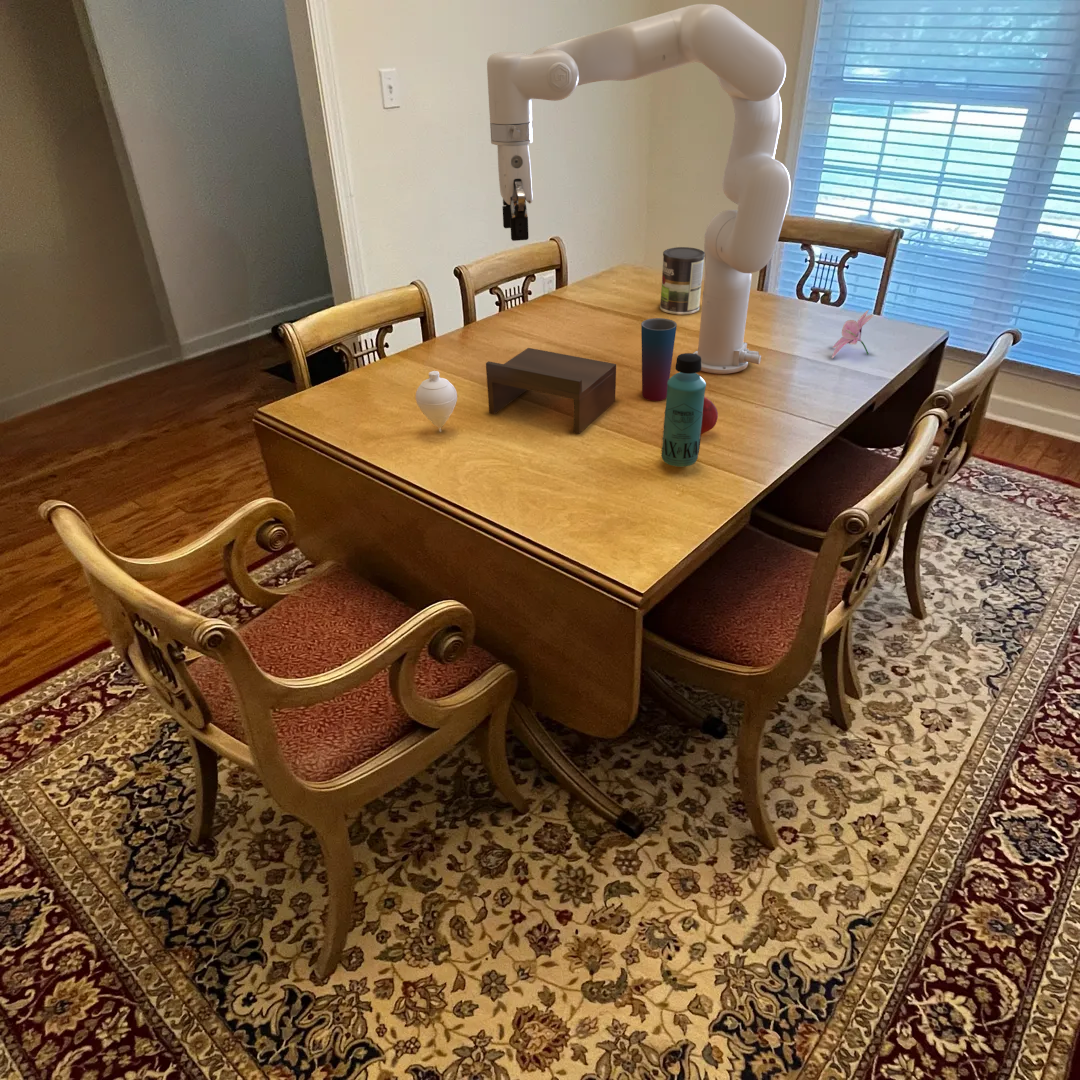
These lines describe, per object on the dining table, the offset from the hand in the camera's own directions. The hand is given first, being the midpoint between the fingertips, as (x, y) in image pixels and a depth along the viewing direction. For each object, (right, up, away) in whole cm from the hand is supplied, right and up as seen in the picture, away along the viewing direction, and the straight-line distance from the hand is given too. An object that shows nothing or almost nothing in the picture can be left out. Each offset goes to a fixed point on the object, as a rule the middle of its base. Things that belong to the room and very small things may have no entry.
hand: (515, 233), depth 151 cm
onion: (+34, -39, -3) cm, 52 cm away
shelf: (+7, -32, +8) cm, 33 cm away
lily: (+74, -17, +27) cm, 80 cm away
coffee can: (+41, +2, +55) cm, 68 cm away
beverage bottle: (+29, -46, -13) cm, 56 cm away
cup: (+28, -29, +11) cm, 42 cm away
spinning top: (-14, -38, 0) cm, 41 cm away
